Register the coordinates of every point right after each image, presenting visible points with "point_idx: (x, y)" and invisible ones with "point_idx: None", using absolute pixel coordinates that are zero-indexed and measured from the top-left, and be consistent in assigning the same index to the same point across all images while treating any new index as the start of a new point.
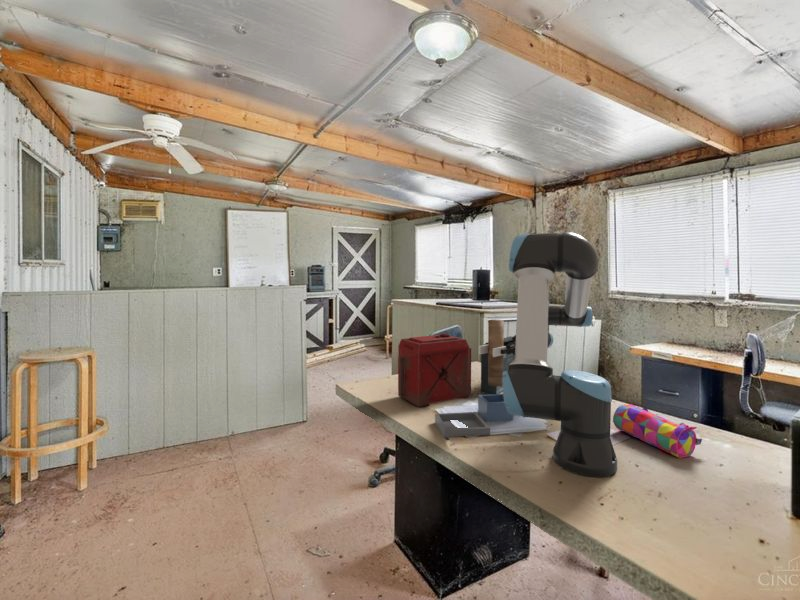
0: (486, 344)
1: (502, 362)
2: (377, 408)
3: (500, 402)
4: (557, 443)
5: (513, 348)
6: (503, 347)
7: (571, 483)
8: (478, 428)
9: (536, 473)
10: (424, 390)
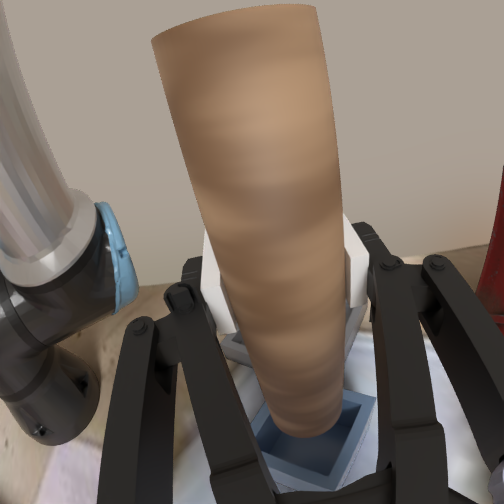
0: (423, 264)
1: (247, 351)
2: (478, 248)
3: (261, 412)
4: (73, 357)
5: (146, 322)
6: (203, 267)
7: (68, 341)
8: (236, 323)
9: (106, 328)
10: (496, 294)
